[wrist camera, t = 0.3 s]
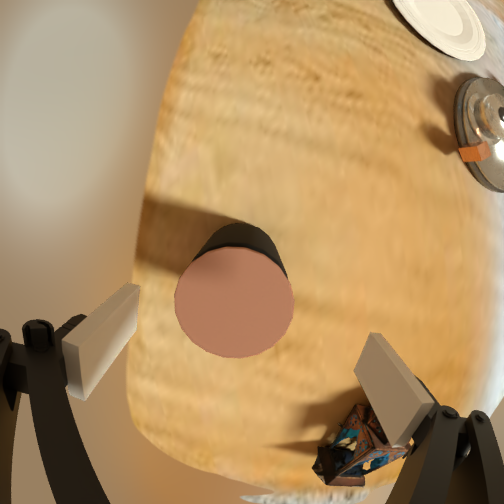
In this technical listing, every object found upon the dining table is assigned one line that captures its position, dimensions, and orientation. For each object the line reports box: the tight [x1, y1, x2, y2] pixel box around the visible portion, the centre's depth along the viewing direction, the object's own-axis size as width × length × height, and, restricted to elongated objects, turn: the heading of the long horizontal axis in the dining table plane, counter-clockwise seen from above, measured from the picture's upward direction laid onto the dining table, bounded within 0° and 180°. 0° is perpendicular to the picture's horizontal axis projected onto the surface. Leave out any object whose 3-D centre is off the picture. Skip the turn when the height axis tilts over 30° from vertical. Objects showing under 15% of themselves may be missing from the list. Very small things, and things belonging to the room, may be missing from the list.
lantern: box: [312, 404, 411, 488], centre depth 45 cm, size 16×16×25 cm
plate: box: [392, 0, 486, 61], centre depth 31 cm, size 25×25×2 cm
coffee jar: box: [174, 223, 294, 358], centre depth 34 cm, size 11×11×18 cm
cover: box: [466, 93, 504, 145], centre depth 32 cm, size 10×10×6 cm
